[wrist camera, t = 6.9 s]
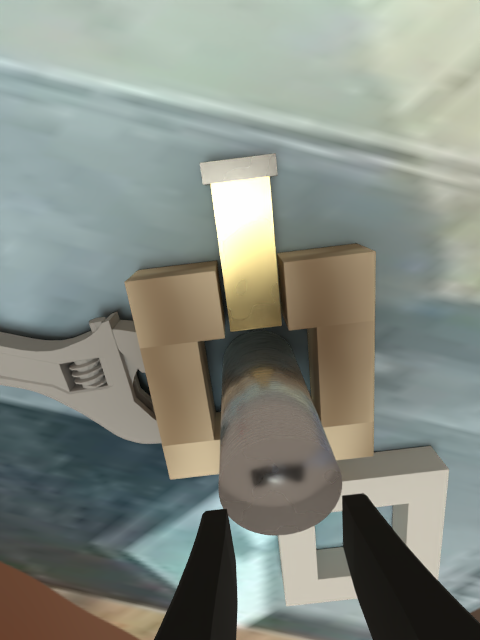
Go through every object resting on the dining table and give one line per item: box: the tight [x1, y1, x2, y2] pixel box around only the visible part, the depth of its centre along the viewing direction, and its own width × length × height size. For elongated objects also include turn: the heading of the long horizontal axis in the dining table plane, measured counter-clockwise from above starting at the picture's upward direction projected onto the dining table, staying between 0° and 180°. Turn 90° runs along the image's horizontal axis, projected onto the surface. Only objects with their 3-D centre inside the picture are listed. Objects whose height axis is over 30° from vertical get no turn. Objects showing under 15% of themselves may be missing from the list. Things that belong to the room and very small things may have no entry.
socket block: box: [125, 243, 376, 479], centre depth 19 cm, size 11×11×2 cm
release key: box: [200, 153, 282, 332], centre depth 17 cm, size 3×7×2 cm, turn 6°
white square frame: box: [278, 446, 449, 606], centre depth 23 cm, size 10×10×2 cm
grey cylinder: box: [219, 330, 342, 535], centre depth 16 cm, size 4×4×9 cm
